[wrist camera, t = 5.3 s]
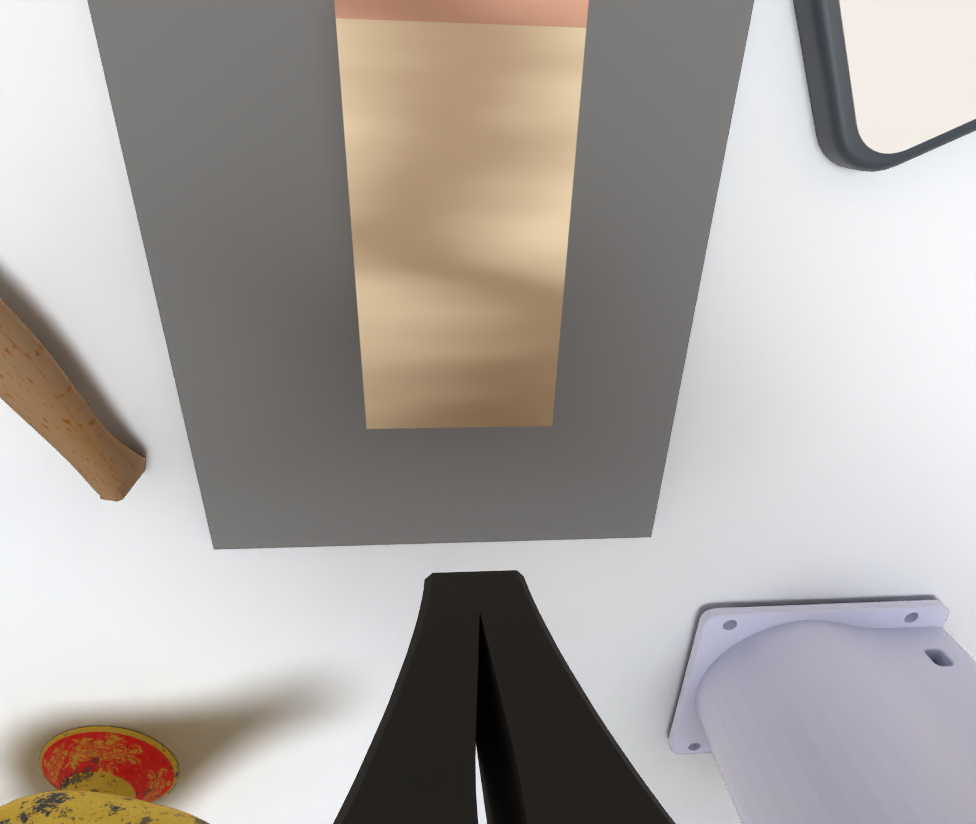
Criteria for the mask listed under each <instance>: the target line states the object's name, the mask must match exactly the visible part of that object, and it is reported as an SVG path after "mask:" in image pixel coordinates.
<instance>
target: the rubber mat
mask: <svg viewBox="0 0 976 824" xmlns="http://www.w3.org/2000/svg"><path fill="white" fill-rule="evenodd" d="M753 4H754V0H589V2H588V14H587V26H586V37H585V49H584V61H583V72H582V84H581V95H580V107H579V119H578V130H577V142H576V154H575V165H574V177H573V189H572V200H571V212H570V224H569V235H568V247H567V258H566V270H565V282H564V293H563V305H562V317H561V328H560V340H559V352H558V363H557V375H556V387H555V398H554V410H553V421H552V426H532V427H464V428H396V429H367V428H366V414H365V401H364V388H363V375H362V361H361V348H360V335H359V321H358V308H357V295H356V282H355V268H354V255H353V242H352V228H351V215H350V202H349V189H348V175H347V162H346V149H345V135H344V122H343V109H342V96H341V82H340V69H339V56H338V42H337V29H336V16H335V3H334V0H88V5H89V9H90V13H91V18H92V22H93V26H94V31H95V35H96V39H97V44H98V48H99V52H100V57H101V61H102V65H103V70H104V74H105V79H106V83H107V87H108V92H109V96H110V100H111V105H112V109H113V113H114V118H115V122H116V126H117V131H118V135H119V139H120V144H121V148H122V152H123V157H124V161H125V165H126V170H127V174H128V178H129V183H130V187H131V192H132V196H133V200H134V205H135V209H136V213H137V218H138V222H139V226H140V231H141V235H142V239H143V244H144V248H145V252H146V257H147V261H148V265H149V270H150V274H151V278H152V283H153V287H154V291H155V296H156V300H157V304H158V309H159V313H160V318H161V322H162V326H163V331H164V335H165V339H166V344H167V348H168V352H169V357H170V361H171V365H172V370H173V374H174V378H175V383H176V387H177V391H178V396H179V400H180V404H181V409H182V413H183V417H184V422H185V426H186V431H187V435H188V439H189V444H190V448H191V452H192V457H193V461H194V465H195V470H196V474H197V478H198V483H199V487H200V491H201V496H202V500H203V504H204V509H205V513H206V517H207V522H208V526H209V530H210V535H211V539H212V544H213V548H214V549H249V548H284V547H319V546H355V545H390V544H425V543H461V542H496V541H531V540H567V539H602V538H637V537H651V535H652V529H653V524H654V519H655V514H656V509H657V503H658V498H659V493H660V488H661V483H662V477H663V472H664V467H665V462H666V457H667V451H668V446H669V441H670V436H671V431H672V425H673V420H674V415H675V410H676V405H677V399H678V394H679V389H680V384H681V379H682V373H683V368H684V363H685V358H686V353H687V347H688V342H689V337H690V332H691V327H692V321H693V316H694V311H695V306H696V301H697V295H698V290H699V285H700V280H701V275H702V269H703V264H704V259H705V254H706V249H707V243H708V238H709V233H710V228H711V223H712V217H713V212H714V207H715V202H716V197H717V191H718V186H719V181H720V176H721V171H722V165H723V160H724V155H725V150H726V144H727V139H728V134H729V129H730V124H731V118H732V113H733V108H734V103H735V98H736V92H737V87H738V82H739V77H740V72H741V66H742V61H743V56H744V51H745V46H746V40H747V35H748V30H749V25H750V20H751V14H752V9H753Z"/></svg>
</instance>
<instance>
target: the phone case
mask: <svg viewBox="0 0 976 824" xmlns="http://www.w3.org/2000/svg"><path fill="white" fill-rule="evenodd" d="M793 2H794V8H795V14H796V19H797V25H798V31H799V37H800V43H801V49H802V55H803V60H804V66H805V72H806V78H807V84H808V90H809V96H810V102H811V107H812V113H813V119H814V125H815V131H816V136H817V140H818V143H819V146H820V148H821V150H822V151H823V153H824V154H825V156H826V157H827V158H828V159H829V160H830V161H832V162H834V163H835V164H837V165H839V166H843V167H846V168H850V169H855V170H860V171H870V172H873V171H880V170H886V169H889V168H891V167H894V166H897V165H899V164H901V163H904V162H906V161H908V160H910V159H913V158H915V157H917V156H919V155H922V154H924V153H926V152H928V151H931V150H933V149H935V148H937V147H940V146H942V145H944V144H946V143H949V142H951V141H953V140H955V139H958V138H960V137H962V136H964V135H967V134H969V133H971V132H973V131H976V0H793Z"/></svg>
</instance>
